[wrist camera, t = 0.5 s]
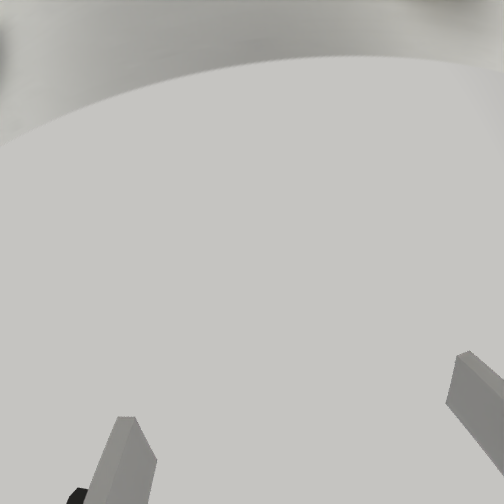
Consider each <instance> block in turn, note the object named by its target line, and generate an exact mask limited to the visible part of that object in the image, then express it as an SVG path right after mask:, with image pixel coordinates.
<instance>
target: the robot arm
mask: <svg viewBox="0 0 504 504" xmlns="http://www.w3.org/2000/svg"><path fill="white" fill-rule="evenodd" d="M446 405H447V406H448V407H449V408H450V409H451V411H452V412H453V413H454V414H455V415H456V416H457V418H458V419H459V420H460V422H461V423H462V424H463V425H464V426H465V428H466V429H467V430H468V431H469V433H470V434H471V435H472V436H473V438H474V439H475V440H476V441H477V443H478V444H479V445H480V446H481V448H482V449H483V450H484V451H485V453H486V454H487V455H488V456H489V458H490V459H491V460H492V461H493V463H494V464H495V466H496V467H497V468H498V469H499V471H500V472H501V473H502V475H503V476H504V380H503V379H502V378H501V377H500V376H499V375H497V374H496V373H495V372H494V371H493V370H492V369H491V368H489V367H488V366H487V365H486V364H485V363H484V362H482V361H481V360H480V359H479V358H478V357H477V356H475V355H474V354H473V353H472V352H471V351H467V352H465V353H462V354H460V355H458V356H457V357H456V362H455V367H454V371H453V376H452V380H451V384H450V388H449V392H448V396H447V400H446ZM156 463H157V459H156V457H155V455H154V453H153V451H152V450H151V448H150V446H149V444H148V442H147V440H146V438H145V436H144V434H143V432H142V430H141V428H140V426H139V424H138V422H137V420H136V418H135V417H118V418H117V420H116V422H115V425H114V427H113V429H112V432H111V434H110V436H109V439H108V441H107V444H106V447H105V449H104V451H103V454H102V456H101V459H100V461H99V464H98V466H97V469H96V471H95V474H94V476H93V479H92V481H91V484H90V487H89V489H83V488H77V489H76V490H75V491H74V492H73V493H72V494H71V496H69V499H68V501H67V504H148V499H149V495H150V491H151V486H152V481H153V477H154V472H155V468H156Z"/></svg>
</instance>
